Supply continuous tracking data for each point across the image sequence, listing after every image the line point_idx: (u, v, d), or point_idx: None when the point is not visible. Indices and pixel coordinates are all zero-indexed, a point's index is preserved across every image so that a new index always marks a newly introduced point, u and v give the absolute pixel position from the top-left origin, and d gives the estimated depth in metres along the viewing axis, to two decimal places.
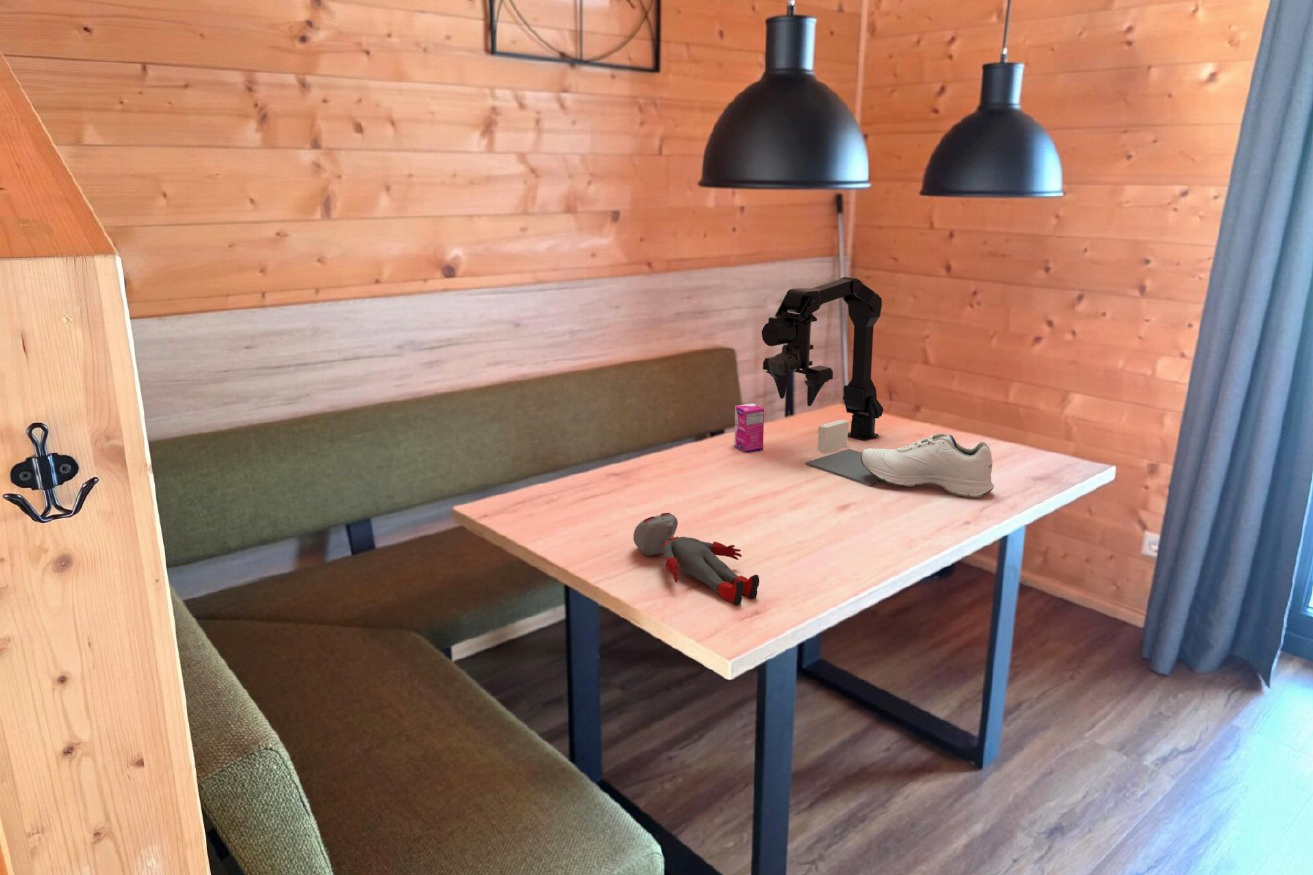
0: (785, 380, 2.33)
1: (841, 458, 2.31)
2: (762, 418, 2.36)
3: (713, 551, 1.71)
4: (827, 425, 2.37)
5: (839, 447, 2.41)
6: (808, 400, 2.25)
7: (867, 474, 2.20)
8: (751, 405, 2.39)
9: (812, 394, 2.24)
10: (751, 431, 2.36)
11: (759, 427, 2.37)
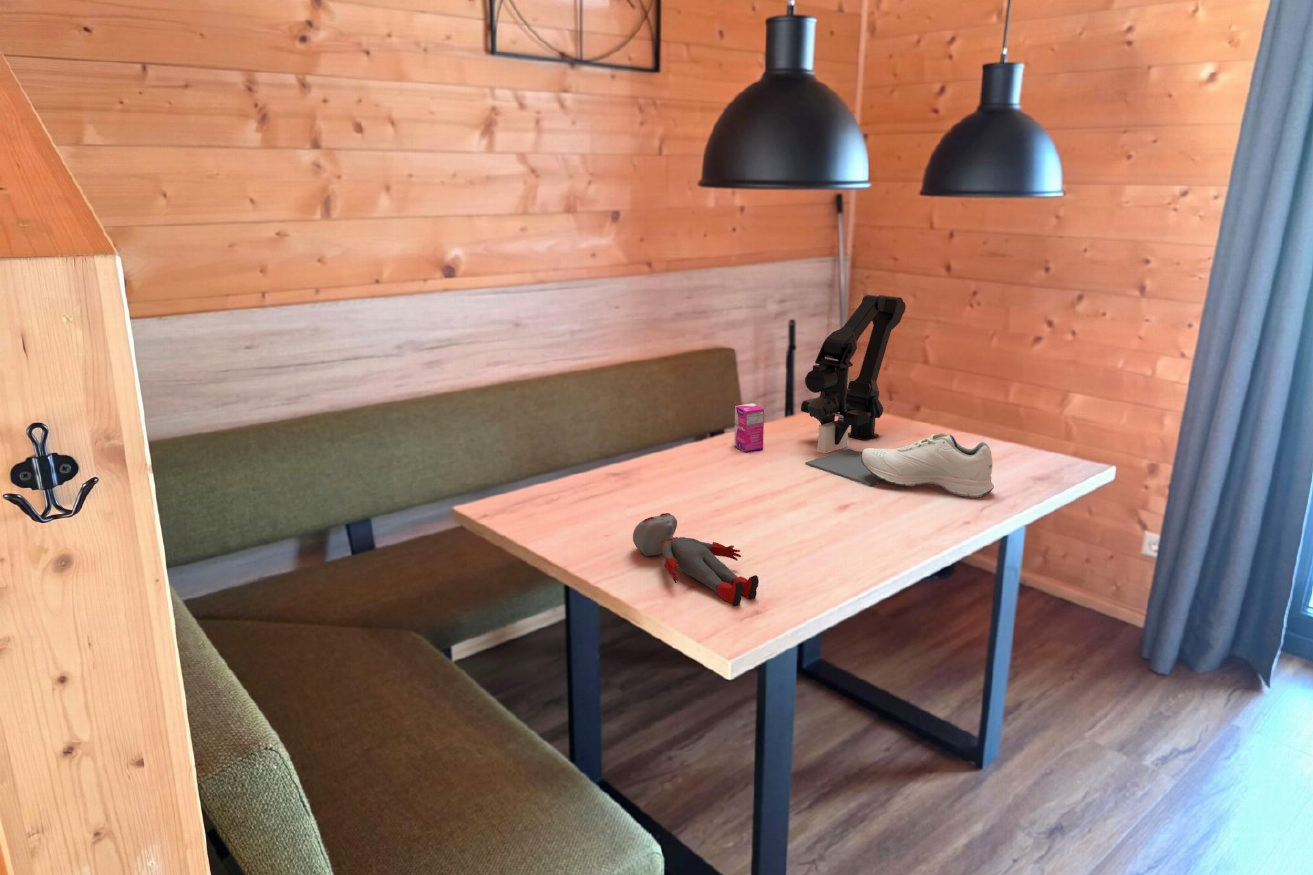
0: None
1: (841, 458, 2.31)
2: (762, 418, 2.36)
3: (712, 551, 1.71)
4: (827, 425, 2.37)
5: (839, 447, 2.41)
6: (836, 439, 2.38)
7: (867, 474, 2.20)
8: (751, 405, 2.39)
9: (839, 433, 2.37)
10: (751, 431, 2.36)
11: (759, 427, 2.37)
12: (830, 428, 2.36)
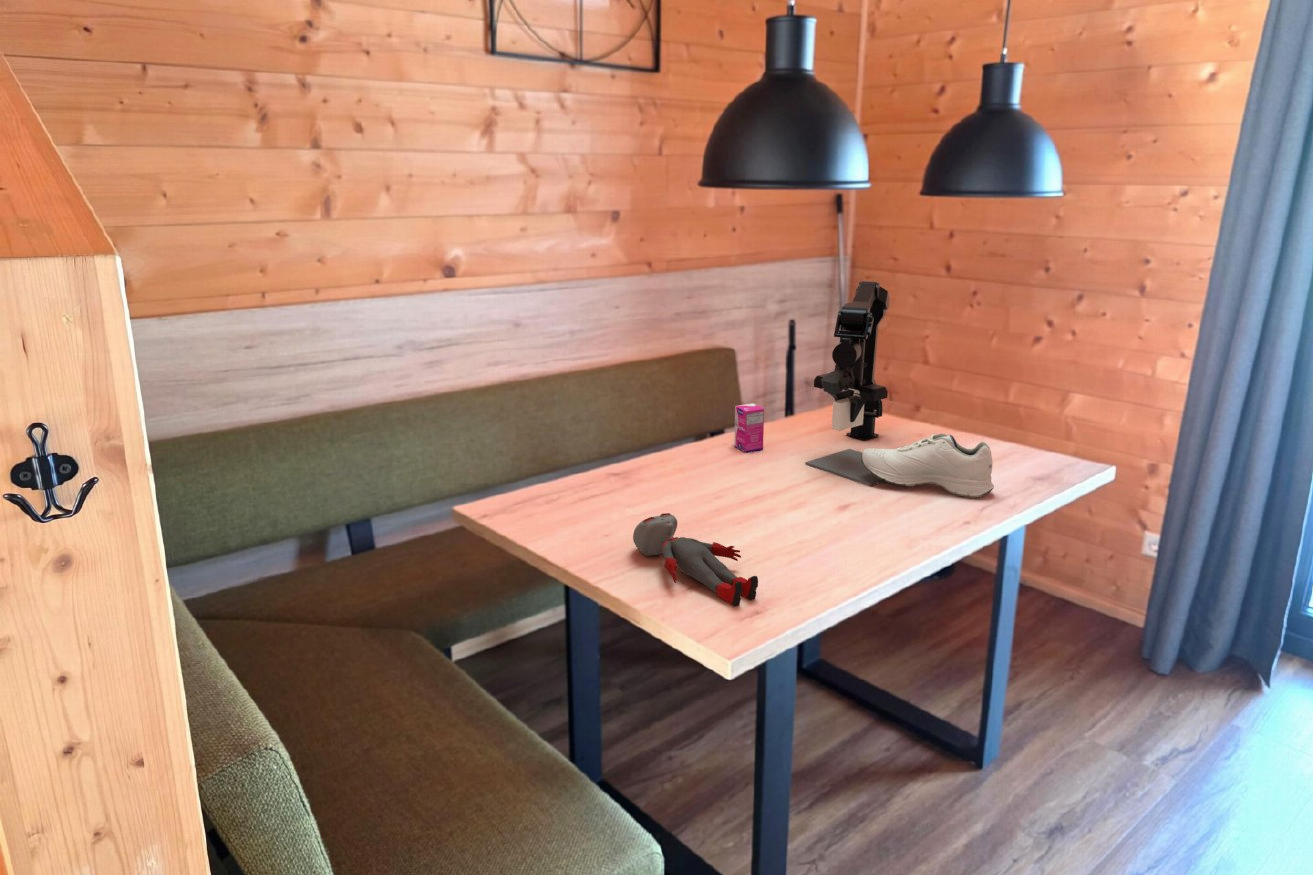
0: None
1: (841, 458, 2.31)
2: (762, 418, 2.36)
3: (712, 552, 1.71)
4: (842, 401, 2.22)
5: (855, 425, 2.26)
6: (851, 416, 2.24)
7: (867, 474, 2.20)
8: (751, 405, 2.39)
9: (855, 410, 2.23)
10: (751, 431, 2.36)
11: (759, 427, 2.37)
12: (845, 404, 2.22)
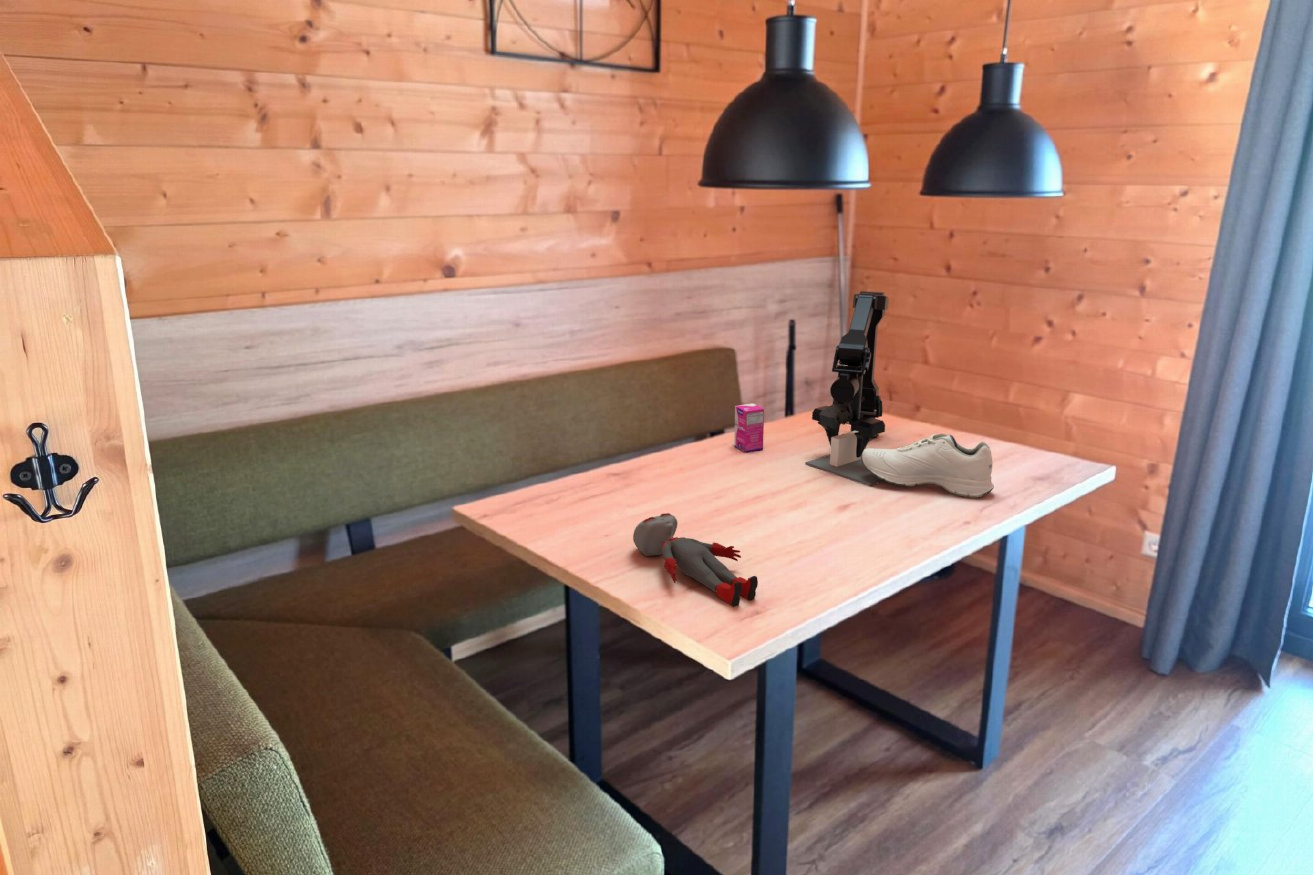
0: (836, 431, 2.31)
1: None
2: (762, 418, 2.36)
3: (712, 552, 1.71)
4: (840, 437, 2.25)
5: (852, 460, 2.29)
6: (857, 452, 2.24)
7: (867, 474, 2.20)
8: (751, 405, 2.39)
9: (861, 446, 2.23)
10: (751, 431, 2.36)
11: (759, 427, 2.37)
12: (843, 440, 2.24)
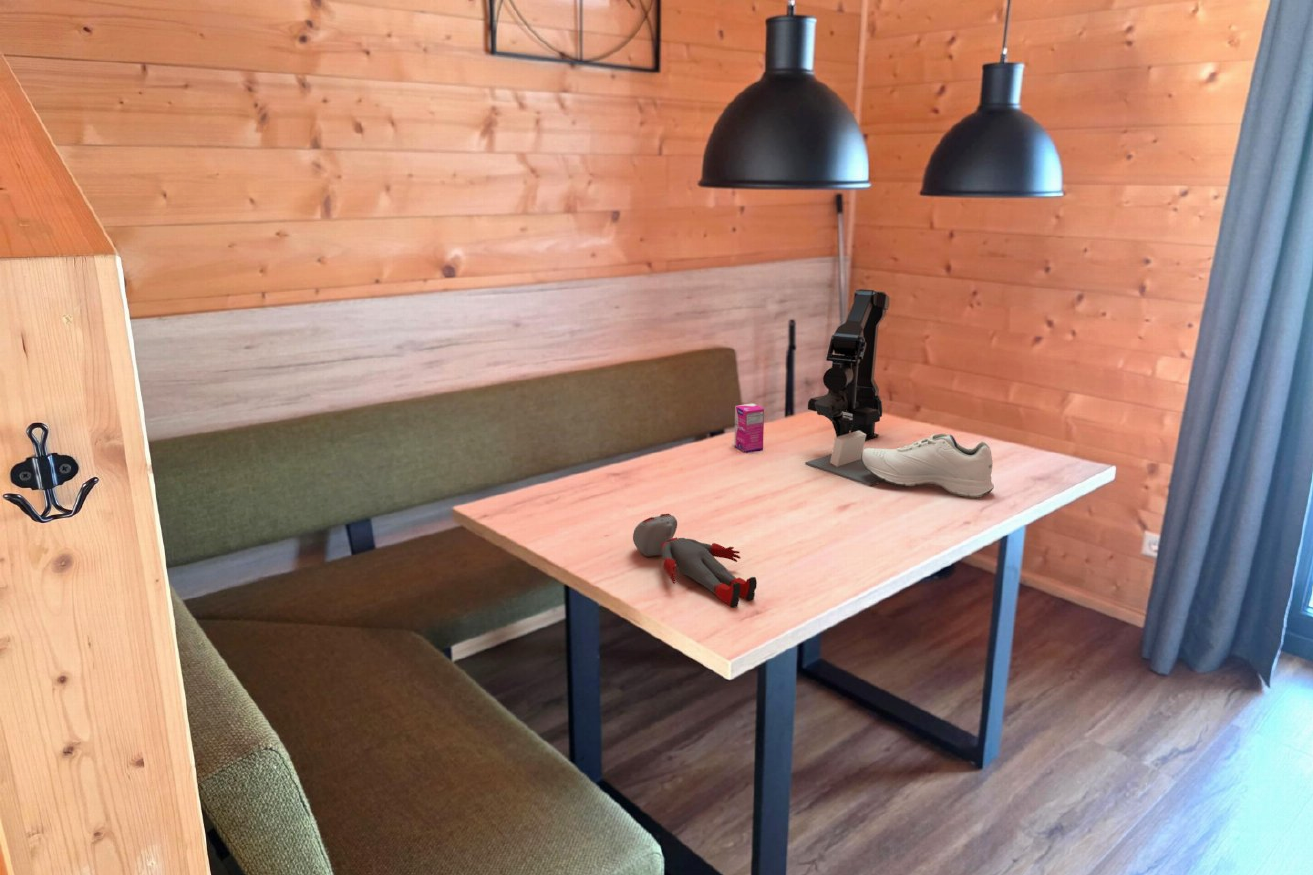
0: None
1: None
2: (762, 418, 2.36)
3: (712, 553, 1.70)
4: (844, 437, 2.24)
5: (853, 460, 2.29)
6: None
7: (867, 474, 2.20)
8: (751, 405, 2.39)
9: (844, 431, 2.26)
10: (751, 431, 2.36)
11: (759, 427, 2.37)
12: (847, 442, 2.24)
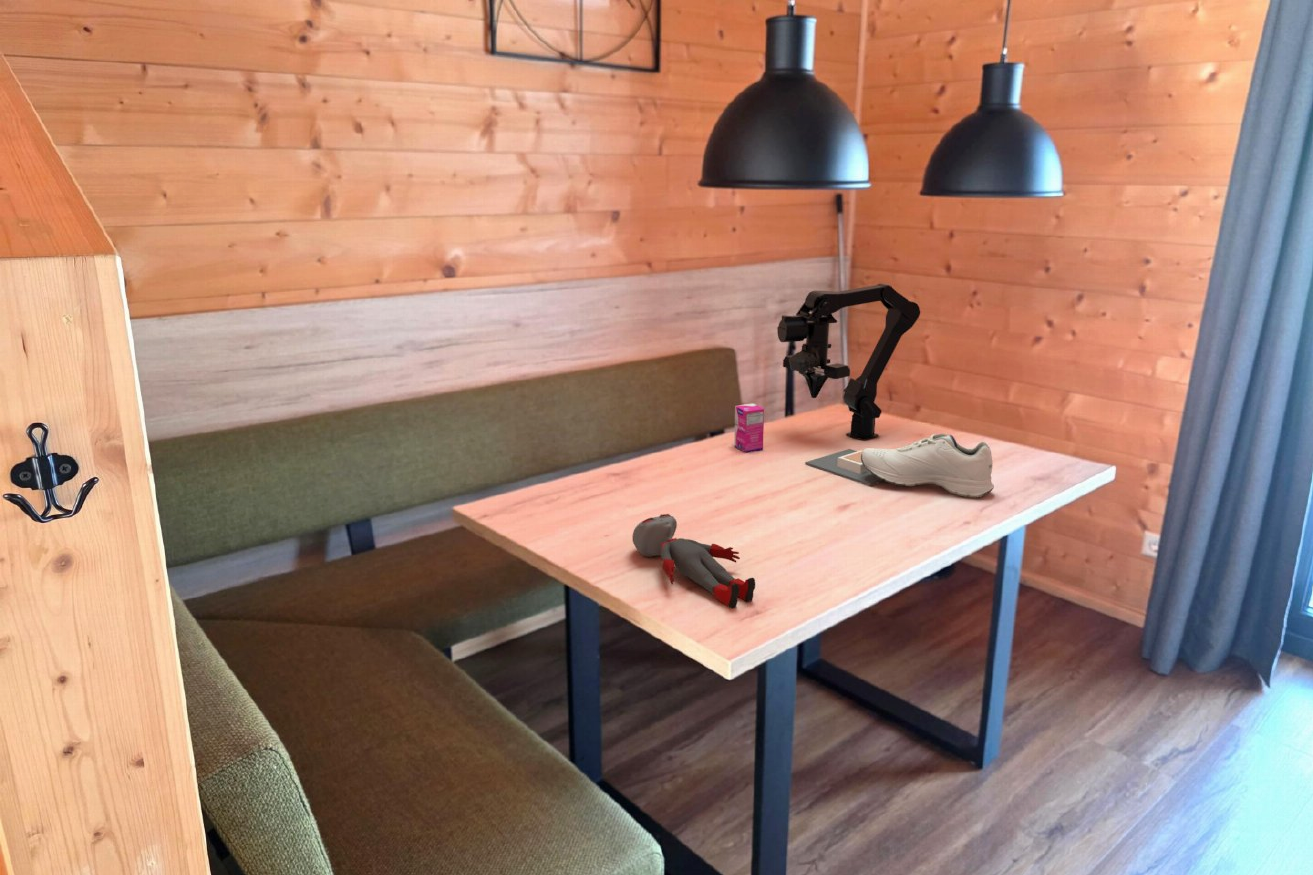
0: None
1: None
2: (762, 418, 2.36)
3: (711, 553, 1.70)
4: (865, 468, 2.21)
5: None
6: (813, 393, 2.42)
7: (867, 474, 2.20)
8: (751, 405, 2.39)
9: (817, 387, 2.41)
10: (751, 431, 2.36)
11: (759, 427, 2.37)
12: None
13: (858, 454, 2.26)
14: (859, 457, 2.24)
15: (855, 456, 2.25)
